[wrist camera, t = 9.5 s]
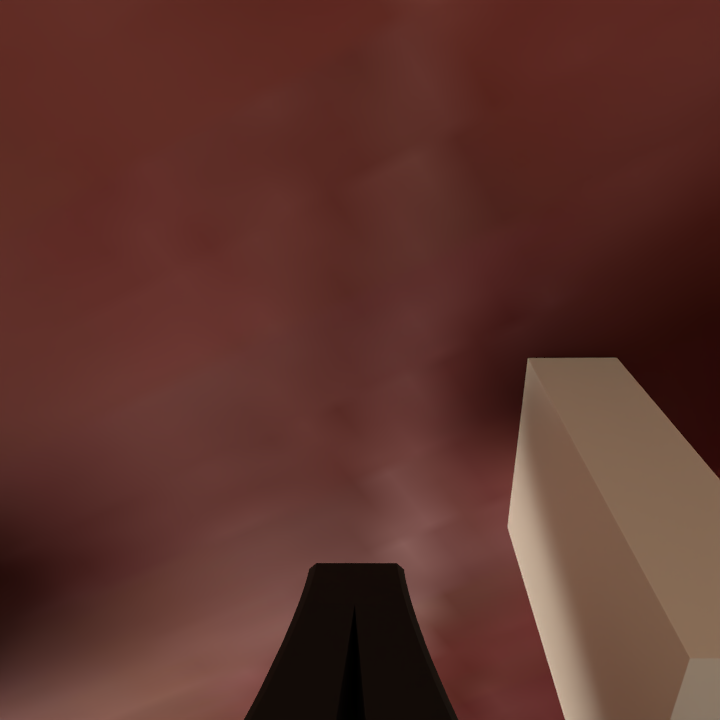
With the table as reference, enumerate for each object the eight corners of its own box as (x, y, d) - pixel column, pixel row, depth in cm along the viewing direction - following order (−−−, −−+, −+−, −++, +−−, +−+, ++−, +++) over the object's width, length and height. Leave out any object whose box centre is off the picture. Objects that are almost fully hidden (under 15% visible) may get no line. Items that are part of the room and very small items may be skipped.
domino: (617, 357, 12) (871, 659, 6) (584, 526, 14) (753, 889, 8) (527, 358, 12) (690, 658, 6) (507, 526, 14) (615, 888, 8)
